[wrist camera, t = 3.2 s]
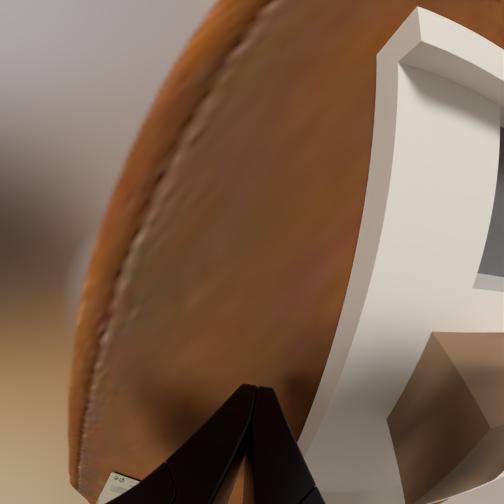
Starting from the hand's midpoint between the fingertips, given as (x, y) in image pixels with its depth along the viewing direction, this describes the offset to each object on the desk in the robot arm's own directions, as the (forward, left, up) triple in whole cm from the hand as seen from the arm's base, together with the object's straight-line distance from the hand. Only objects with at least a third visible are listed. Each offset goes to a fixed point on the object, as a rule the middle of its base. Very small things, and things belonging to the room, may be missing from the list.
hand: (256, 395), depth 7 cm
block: (0, -7, -1) cm, 7 cm away
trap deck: (0, -13, -3) cm, 14 cm away
